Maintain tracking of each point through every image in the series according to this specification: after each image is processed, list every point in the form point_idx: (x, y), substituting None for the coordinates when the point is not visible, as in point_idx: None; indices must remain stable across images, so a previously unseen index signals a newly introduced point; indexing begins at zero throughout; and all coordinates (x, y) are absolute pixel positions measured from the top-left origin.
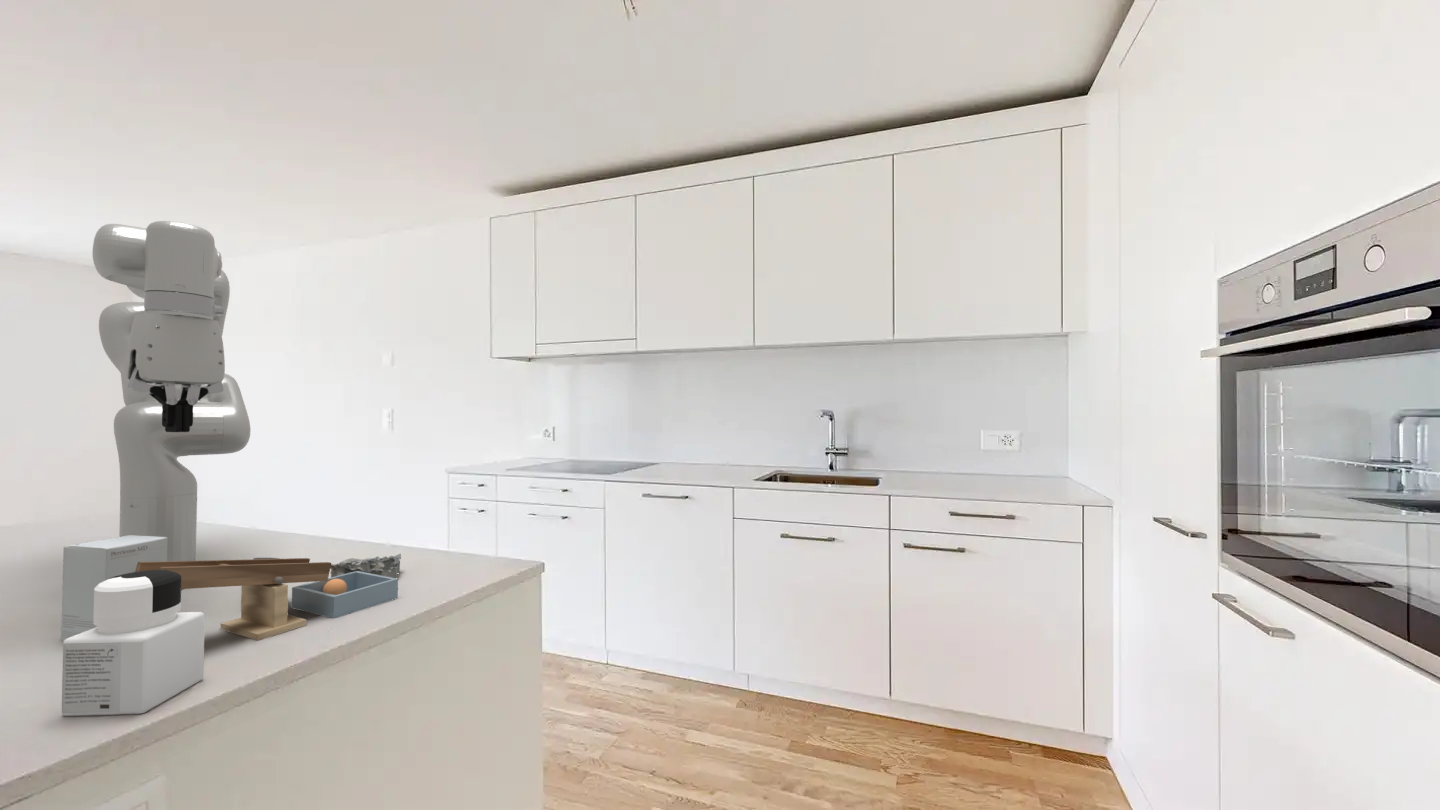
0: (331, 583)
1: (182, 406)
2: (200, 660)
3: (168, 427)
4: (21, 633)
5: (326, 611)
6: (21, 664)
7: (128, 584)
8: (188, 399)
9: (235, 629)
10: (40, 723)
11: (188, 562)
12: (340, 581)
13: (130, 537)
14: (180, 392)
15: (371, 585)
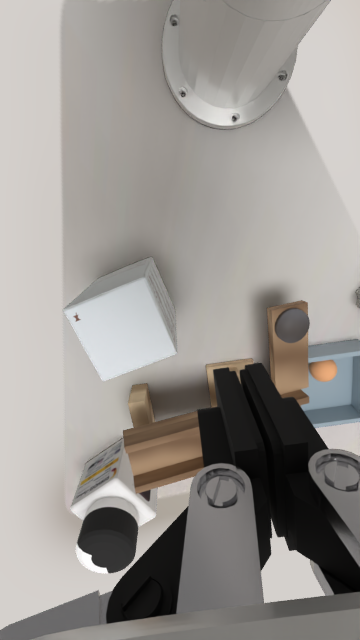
0: (319, 378)
1: (277, 528)
2: None
3: (217, 400)
4: (69, 201)
5: None
6: (69, 326)
7: (94, 571)
8: (319, 581)
9: (209, 391)
10: (76, 463)
11: (172, 440)
12: (329, 380)
13: (139, 316)
14: (356, 545)
15: (335, 422)
